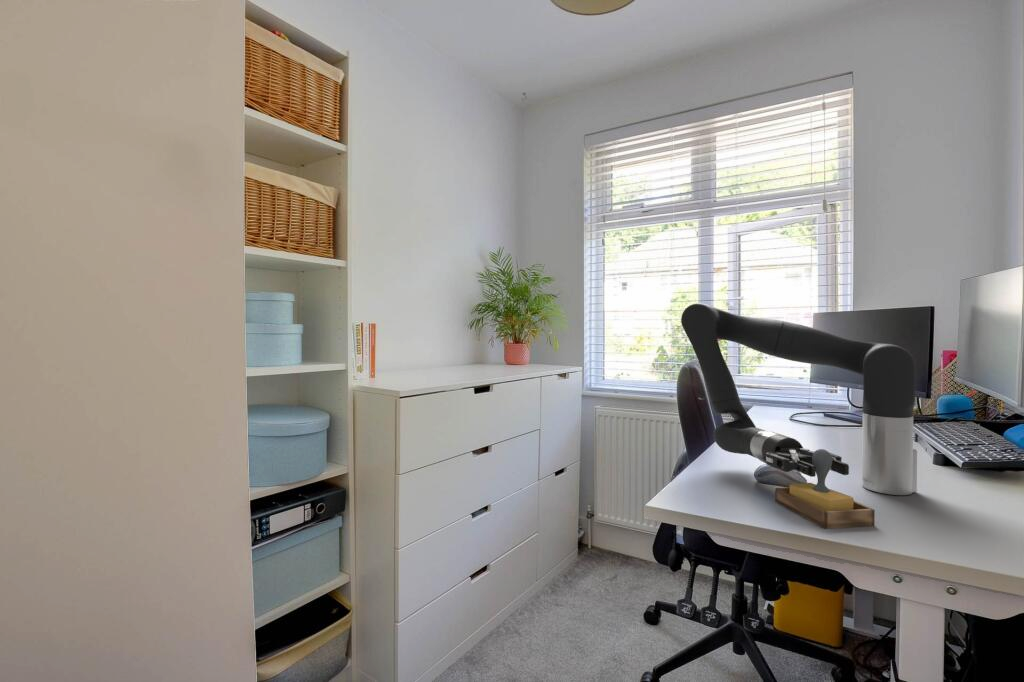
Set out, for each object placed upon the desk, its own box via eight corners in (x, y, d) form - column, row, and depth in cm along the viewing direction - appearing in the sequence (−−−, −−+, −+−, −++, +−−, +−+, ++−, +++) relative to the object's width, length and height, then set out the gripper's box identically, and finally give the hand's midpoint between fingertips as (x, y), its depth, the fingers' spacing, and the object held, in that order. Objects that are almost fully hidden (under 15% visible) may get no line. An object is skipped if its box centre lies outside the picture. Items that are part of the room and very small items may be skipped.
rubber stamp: (854, 516, 95) (856, 454, 94) (831, 519, 93) (833, 456, 93) (809, 499, 104) (811, 443, 104) (787, 501, 102) (789, 444, 102)
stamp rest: (819, 499, 106) (819, 485, 106) (874, 525, 92) (874, 509, 92) (775, 501, 105) (775, 488, 105) (824, 528, 91) (824, 512, 91)
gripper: (746, 434, 112) (796, 453, 95) (804, 432, 113) (864, 450, 97) (746, 467, 112) (796, 491, 95) (804, 464, 114) (864, 488, 97)
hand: (830, 470), depth 96 cm, fingers open, 6 cm apart
